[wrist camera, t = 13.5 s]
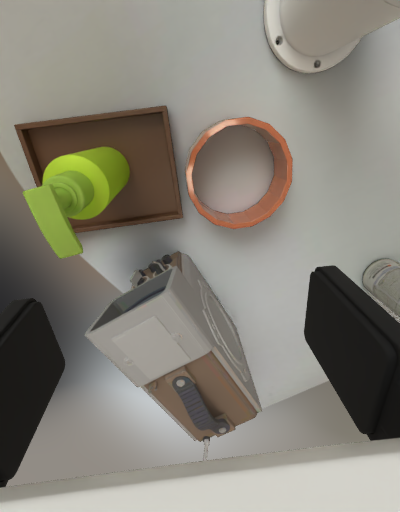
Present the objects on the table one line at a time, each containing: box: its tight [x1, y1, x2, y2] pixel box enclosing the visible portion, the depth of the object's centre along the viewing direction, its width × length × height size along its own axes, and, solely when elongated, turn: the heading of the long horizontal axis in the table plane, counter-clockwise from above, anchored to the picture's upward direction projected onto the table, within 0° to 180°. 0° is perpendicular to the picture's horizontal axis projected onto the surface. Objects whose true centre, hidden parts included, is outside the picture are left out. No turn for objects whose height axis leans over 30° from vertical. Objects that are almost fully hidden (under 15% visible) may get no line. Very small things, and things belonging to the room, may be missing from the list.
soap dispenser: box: [23, 147, 130, 259], centre depth 28 cm, size 6×7×20 cm
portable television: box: [85, 251, 262, 461], centre depth 34 cm, size 12×24×30 cm, turn 30°
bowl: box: [185, 117, 292, 229], centre depth 37 cm, size 13×13×5 cm
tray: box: [14, 106, 183, 233], centre depth 37 cm, size 14×18×2 cm
